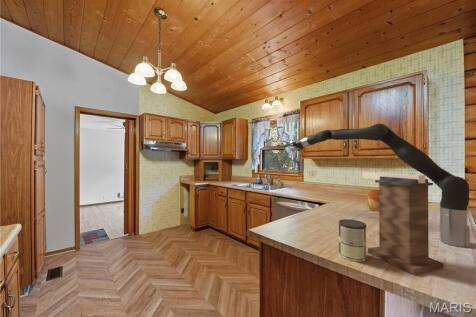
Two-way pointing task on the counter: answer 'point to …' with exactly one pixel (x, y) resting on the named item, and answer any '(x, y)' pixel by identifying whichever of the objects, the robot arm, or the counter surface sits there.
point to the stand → (404, 225)
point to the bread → (373, 200)
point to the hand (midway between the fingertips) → (287, 148)
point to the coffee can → (352, 240)
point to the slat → (377, 176)
